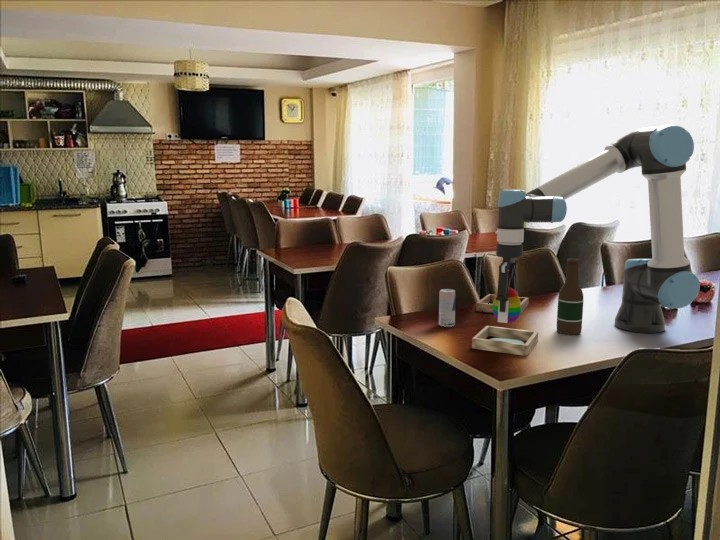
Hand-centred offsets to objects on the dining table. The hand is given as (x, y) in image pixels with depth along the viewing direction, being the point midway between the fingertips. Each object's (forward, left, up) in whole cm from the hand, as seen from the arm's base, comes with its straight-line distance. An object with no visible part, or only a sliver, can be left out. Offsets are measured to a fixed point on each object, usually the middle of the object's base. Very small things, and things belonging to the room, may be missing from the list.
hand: (506, 318), depth 176 cm
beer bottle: (-15, -23, -8) cm, 28 cm away
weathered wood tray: (+12, -47, -8) cm, 49 cm away
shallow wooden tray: (0, 0, -8) cm, 8 cm away
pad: (0, 0, -8) cm, 8 cm away
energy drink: (+23, -14, -8) cm, 28 cm away
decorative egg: (0, 0, 0) cm, 0 cm away
